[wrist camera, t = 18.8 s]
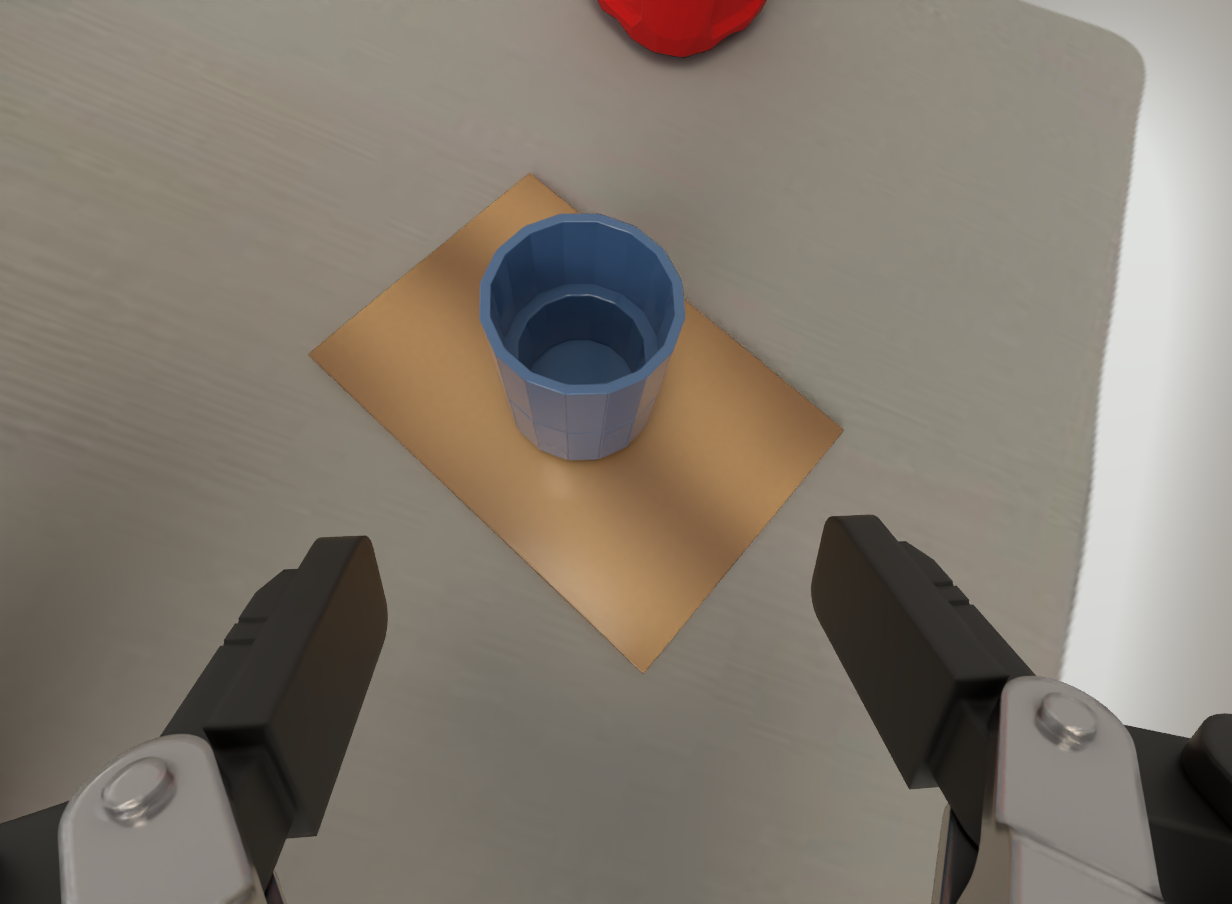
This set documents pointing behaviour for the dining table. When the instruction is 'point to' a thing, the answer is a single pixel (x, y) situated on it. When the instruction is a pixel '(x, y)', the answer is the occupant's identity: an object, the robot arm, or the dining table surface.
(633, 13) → the water bottle
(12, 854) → the robot arm
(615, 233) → the blue plastic tumbler
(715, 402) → the mat
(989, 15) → the dining table surface
